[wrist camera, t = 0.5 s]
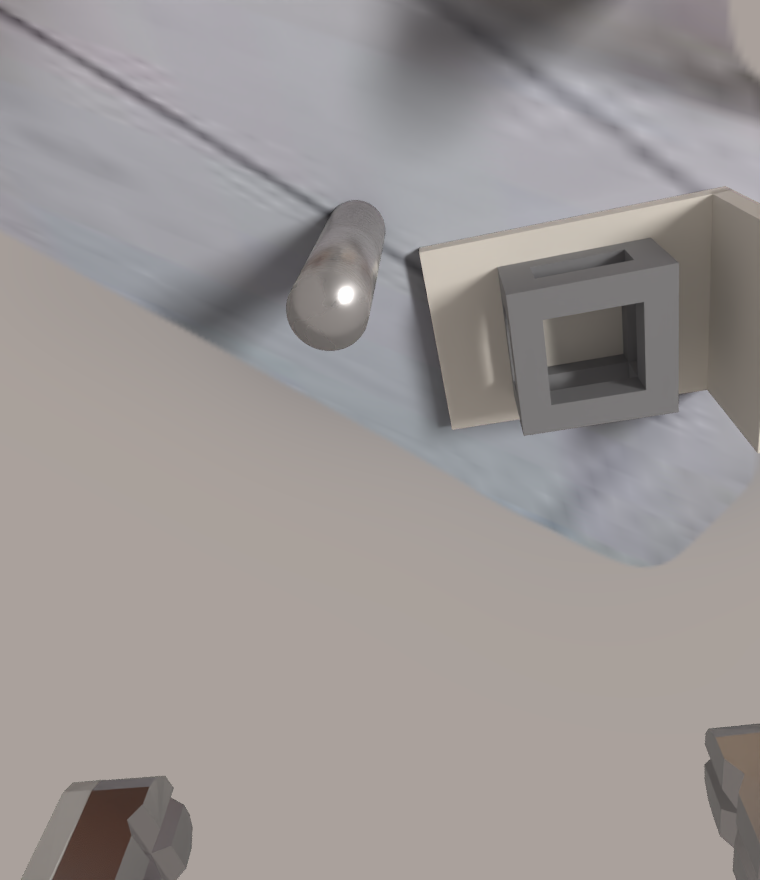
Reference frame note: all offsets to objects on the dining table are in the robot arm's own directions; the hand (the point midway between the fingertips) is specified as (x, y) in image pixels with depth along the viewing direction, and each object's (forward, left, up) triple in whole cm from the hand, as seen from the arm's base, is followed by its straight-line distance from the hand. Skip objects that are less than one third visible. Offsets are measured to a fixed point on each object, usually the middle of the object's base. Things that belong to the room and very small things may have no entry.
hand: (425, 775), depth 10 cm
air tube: (+1, -5, -41) cm, 41 cm away
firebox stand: (+10, +9, -41) cm, 43 cm away
